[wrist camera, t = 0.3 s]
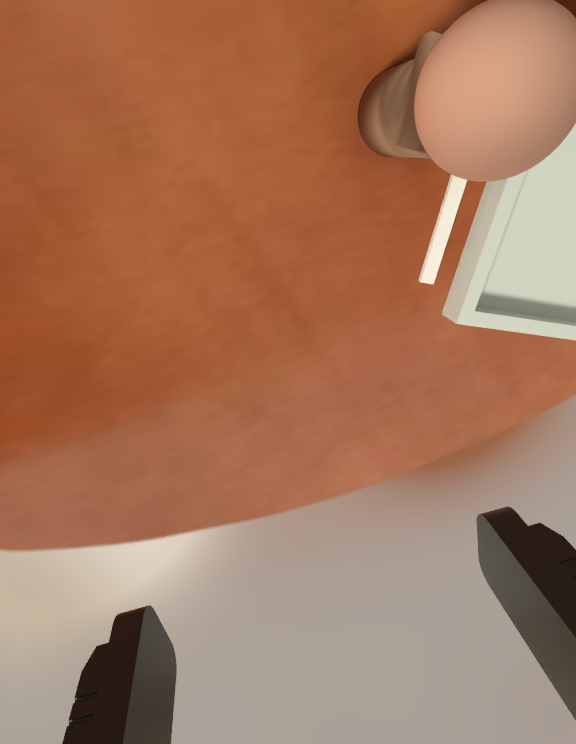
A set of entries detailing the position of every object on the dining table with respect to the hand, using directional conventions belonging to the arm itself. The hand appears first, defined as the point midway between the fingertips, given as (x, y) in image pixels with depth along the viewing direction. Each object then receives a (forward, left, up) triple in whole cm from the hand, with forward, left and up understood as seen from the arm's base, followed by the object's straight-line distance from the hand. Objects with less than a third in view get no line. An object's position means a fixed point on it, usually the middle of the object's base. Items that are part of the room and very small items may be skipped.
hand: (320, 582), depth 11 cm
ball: (-13, +7, -11) cm, 18 cm away
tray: (-9, +21, -21) cm, 31 cm away
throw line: (-11, +12, -21) cm, 26 cm away
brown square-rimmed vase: (-13, +7, -21) cm, 25 cm away
